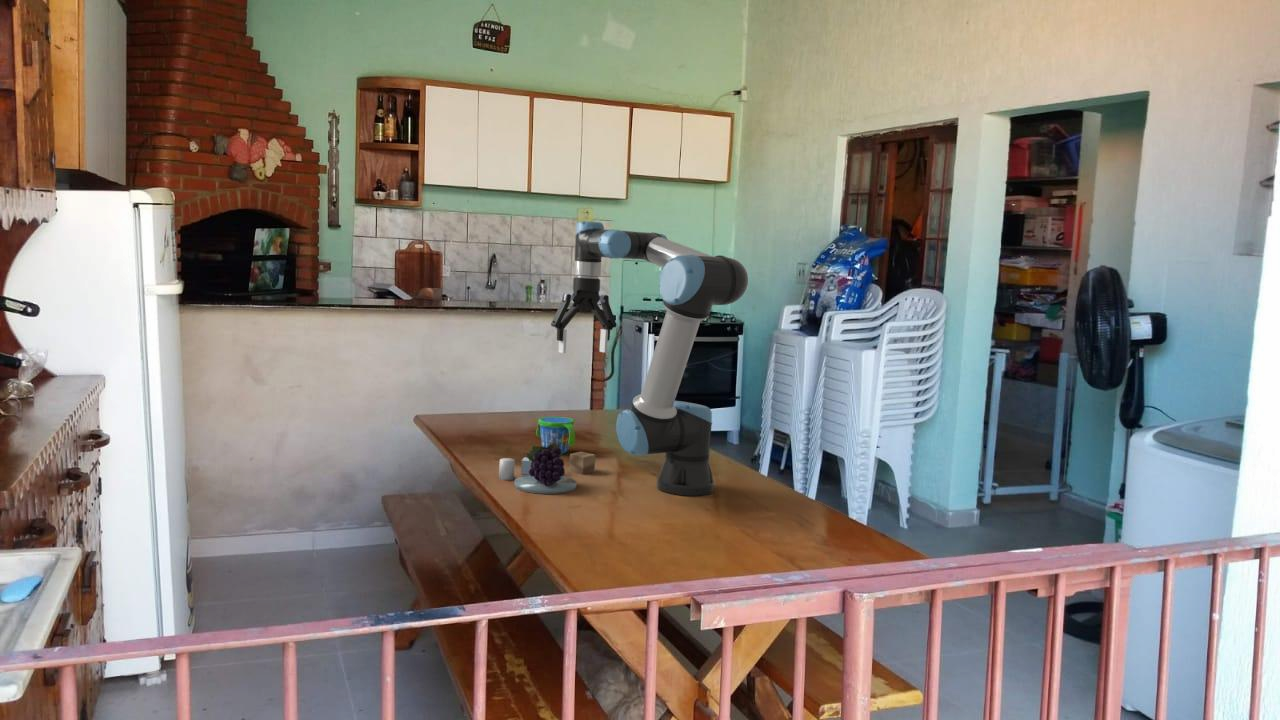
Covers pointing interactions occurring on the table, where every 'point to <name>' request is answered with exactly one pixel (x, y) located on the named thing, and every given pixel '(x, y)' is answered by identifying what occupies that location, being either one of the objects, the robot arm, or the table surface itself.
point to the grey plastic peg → (506, 469)
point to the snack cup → (556, 432)
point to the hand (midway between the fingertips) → (582, 352)
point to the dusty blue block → (525, 466)
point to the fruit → (546, 464)
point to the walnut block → (582, 463)
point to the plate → (535, 486)
